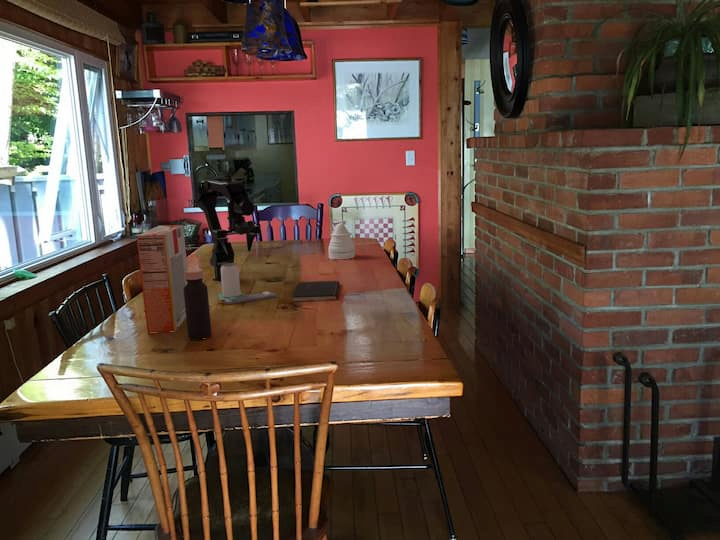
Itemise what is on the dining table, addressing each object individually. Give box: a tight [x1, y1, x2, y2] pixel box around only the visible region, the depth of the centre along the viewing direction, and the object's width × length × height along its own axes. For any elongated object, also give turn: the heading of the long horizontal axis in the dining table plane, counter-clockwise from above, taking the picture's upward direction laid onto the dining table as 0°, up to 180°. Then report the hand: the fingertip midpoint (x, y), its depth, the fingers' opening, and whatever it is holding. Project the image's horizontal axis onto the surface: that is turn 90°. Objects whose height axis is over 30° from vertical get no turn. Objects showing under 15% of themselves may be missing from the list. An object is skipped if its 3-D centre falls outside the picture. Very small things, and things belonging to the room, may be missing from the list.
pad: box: [217, 291, 245, 302], centre depth 224 cm, size 9×9×1 cm
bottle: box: [183, 268, 213, 340], centre depth 175 cm, size 7×7×20 cm
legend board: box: [223, 291, 277, 305], centre depth 219 cm, size 18×6×1 cm, turn 116°
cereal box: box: [136, 224, 189, 334], centre depth 191 cm, size 23×8×30 cm, turn 2°
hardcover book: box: [291, 280, 340, 302], centre depth 225 cm, size 16×23×2 cm
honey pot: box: [327, 220, 356, 260], centre depth 292 cm, size 13×13×18 cm
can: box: [221, 262, 241, 298], centre depth 223 cm, size 6×6×12 cm
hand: (238, 253), depth 241 cm, fingers open, 9 cm apart
